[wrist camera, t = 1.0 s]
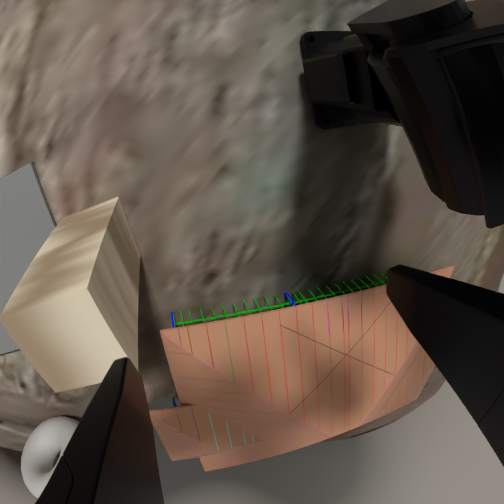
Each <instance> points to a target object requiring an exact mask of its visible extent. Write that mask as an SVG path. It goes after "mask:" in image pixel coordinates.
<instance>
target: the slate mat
mask: <svg viewBox="0 0 504 504" xmlns="http://www.w3.org/2000/svg"><path fill="white" fill-rule="evenodd" d="M56 226H57V224H56V222H55V220H54V217H53V215H52V212H51V210H50V207H49V205H48V202H47V200H46V197H45V194H44V192H43V189H42V186H41V184H40V181H39V178H38V175H37V172H36V169H35V166H34V163H33V162H32V163H30V164H28V165H26V166H24V167H22V168H20V169H18V170H16V171H14V172H13V173H11V174H9V175H7V176H5V177H3V178H2V179H0V316H1V314H2V312H3V310H4V308H5V306H6V304H7V303H8V301H9V299H10V297H11V295H12V294H13V292H14V290H15V288H16V287H17V285H18V283H19V282H20V280H21V278H22V277H23V275H24V273H25V272H26V270H27V269H28V267H29V265H30V264H31V262H32V261H33V259H34V258H35V256H36V255H37V253H38V252H39V250H40V249H41V247H42V246H43V244H44V243H45V241H46V240H47V238H48V237H49V235H50V234H51V233H52V231H53V230H54V228H55V227H56ZM18 349H19V347H18V346H17V345H16V343H15V342H14V341H13V339H12V338H11V336H10V335H9V334H8V332H7V331H6V329H5V328H4V326H3V325H2V323H1V322H0V354H3V353H7V352H11V351H14V350H18Z"/></svg>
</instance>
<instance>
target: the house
mask: <svg viewBox="0 0 504 504" xmlns="http://www.w3.org/2000/svg"><path fill="white" fill-rule="evenodd" d="M453 268H454V266H450V267H446V268H443V269H439V270H436V271H432V272H429V273H433V274H436V275H440V276H444V277H447V278H451V275H452V272H453ZM387 272H388V271H387ZM380 274H381V275H382V276H384V277H385V278H386V279H387V277H386V276H385V275H383V274H382V273H381V272H380ZM373 276H375V277H376V278H377V279H378V280H379V281H380V282H379V283H374V282H373V281H372V280H371V279H370V278H369V277H368V276H366V277H367V278H368V279H369V280H370V281H371V282H372V283H373V284H370V285H367V284H366V283H364V282H363V281H362V280H361V279H360V278H359V277H358V279H359V280H360V281H361V282H362V283H363V284H364V285H366V286H363V287H359V286H358V285H357V284H356V283H355V282H354V281H353V280H352V279H350V280H351V281H352V282H353V283H354V284H355V285H356V286H357V288H353V289H351V288H350V287H349V286H348V285H347V284H346V283H345V282H344V281H342V282H343V283H344V284H345V285H346V286H347V287H348V288H349V290H346V291H342V290H341V289H340V288H339V287H338V286H337V285H336V283H335V282H334V284H335V286H336V287H337V288H338V289H339V290H340V292H336V293H333V292H332V291H331V289H330V288H329V287H328V286H327V285H326V284H325V286H326V287H327V288H328V289H329V290H330V292H331V293H332V294H329V295H324V294H323V293H322V291H321V290H320V289H319V288H318V287H317V286H316V288H317V289H318V290H319V291H320V292H321V294H322V296H318V297H315V296H314V295H313V294H312V293H311V291H310V290H309V289H308V288H307V290H308V291H309V292H310V294H311V295H312V296H313V297H314V298H311V299H305V298H304V297H303V295H302V294H301V293H300V291H299V290H298V292H299V294H300V295H301V296H302V298H303V299H304V300H299V299H298V298H297V296H296V295H295V293H294V292H293V291H292V293H293V294H294V296H295V297H296V299H297V300H298V301H296V302H293V300H292V299H291V297H290V296H289V294H288V293H287V292H286V293H284V294H285V296H286V297H287V299H288V300H289V302H290V303H288V302H287V301H286V300H285V302H286V303H285V304H281V303H280V302H279V300H278V298H277V297H276V295H274V296H275V298H276V299H277V301H278V303H279V304H280V305H277V306H272V307H271V306H270V305H269V303H268V301H267V299H266V298H265V296H264V298H265V300H266V302H267V304H268V305H269V307H265V308H259V306H258V304H257V302H256V300H255V298H254V301H255V303H256V305H257V307H258V309H257V310H251V311H249V310H248V308H247V306H246V304H245V302H244V300H243V302H244V304H245V306H246V309H247V311H244V312H238V313H237V310H236V308H235V305H234V303H233V306H234V308H235V311H236V313H235V314H229V315H226V313H225V310H224V307H223V304H222V307H223V310H224V313H225V315H221V316H216V317H215V316H214V313H213V316H214V317H212V318H206V319H203V316H202V319H198V320H191V321H188V322H179V323H175V320H174V313H173V312H171V316H172V324H173V328H170V329H163V330H160V334H161V338H162V341H163V345H164V349H165V353H166V356H167V360H168V363H169V367H170V371H171V374H172V377H173V381H174V384H175V387H176V391H177V394H178V397H179V400H180V403H181V406H180V407H177V405H176V402H175V399H174V398H173V404H174V407H173V408H165V409H158V410H149V413H150V417H151V421H152V423H153V425H154V428H155V429H156V431H157V433H158V435H159V437H160V439H161V441H162V443H163V445H164V447H165V449H166V450H167V452H168V454H169V456H170V458H171V459H172V461H176V460H183V459H190V458H197V457H199V458H200V460H201V463H202V465H203V468H204V471H205V472H206V471H211V470H217V469H222V468H227V467H232V466H236V465H241V464H245V463H250V462H254V461H257V460H262V459H265V458H269V457H273V456H276V455H280V454H283V453H287V452H290V451H293V450H297V449H300V448H303V447H306V446H309V445H312V444H315V443H318V442H321V441H323V440H326V439H329V438H332V437H334V436H337V435H339V434H342V433H345V432H347V431H350V430H352V429H354V428H357V427H359V426H362V425H364V424H366V423H368V422H371V421H373V420H375V419H377V418H380V417H382V416H384V415H386V414H388V413H390V412H392V411H394V410H396V409H398V408H400V407H402V406H404V405H406V404H408V403H410V402H412V401H414V400H416V399H417V398H418V396H419V394H420V392H421V391H422V389H423V387H424V385H425V383H426V382H427V380H428V378H429V376H430V374H431V372H432V370H433V368H434V366H435V364H434V362H433V361H432V360H431V358H430V357H429V356H428V354H427V353H426V352H425V351H424V349H423V348H422V347H421V345H420V344H419V343H418V341H417V340H416V339H415V337H414V336H413V335H412V333H411V332H410V331H409V329H408V328H407V326H406V324H405V323H404V321H403V320H402V318H401V316H400V315H399V313H398V312H397V310H396V309H395V307H394V305H393V304H392V302H391V301H390V299H389V298H388V296H387V293H386V284H385V283H384V282H387V280H386V281H381V280H380V279H379V278H378V277H377V276H376V275H374V274H373ZM380 283H382V284H384V285H381V286H377V285H376V284H380ZM371 285H375V286H376V287H373V288H370V287H369V286H371ZM364 287H368V288H369V289H365V290H362V289H361V288H364ZM354 289H360V290H361V291H357V292H353V290H354ZM348 291H351V292H352V293H349V294H345V293H344V292H348ZM337 293H343V294H344V295H340V296H336V295H335V294H337ZM330 295H334V296H335V297H332V298H327V297H326V296H330ZM320 297H325V299H323V300H319V301H318V300H317V299H316V298H320ZM312 299H315V300H316V301H314V302H310V303H308V302H307V301H308V300H312ZM301 301H305V302H306V303H305V304H302V303H301ZM298 302H299V303H300V305H296V304H295V303H298ZM289 304H291V307H290V305H289ZM282 305H287V306H288V307H286V308H283V306H282ZM279 306H281V307H282V308H281V309H276V310H272V308H274V307H279ZM267 308H270V309H271V311H267V312H261V310H262V309H267ZM211 309H212V306H211ZM200 311H201V308H200ZM254 311H260V313H256V314H250V312H254ZM212 312H213V309H212ZM246 312H248V313H249V315H246V316H241V317H239V315H238V314H241V313H246ZM189 313H190V310H189ZM181 315H182V311H181ZM201 315H202V312H201ZM232 315H238V317H235V318H230V319H228V318H227V316H232ZM224 316H226V319H224V320H218V321H216V319H215V318H219V317H224ZM190 318H191V315H190ZM209 319H215V321H213V322H207V323H204V320H209ZM201 320H203V323H201V324H195V325H193V324H192V325H189V326H184V324H185V323H192V322H195V321H201ZM182 321H183V317H182ZM182 323H183V326H182V327H175V325H176V324H182Z"/></svg>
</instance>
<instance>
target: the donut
mask: <svg viewBox="0 0 504 504" xmlns="http://www.w3.org/2000/svg"><path fill="white" fill-rule="evenodd" d="M78 423H79V421H77V420H75V419H73V418H69V417H66V416H58V417H52V418H49V419H47V420H45V421H44V422H42V423H41V424H40V425H39V426H37V427H36V428H35V429H34V431H33V432H32V433H31V435H30V436H29V438H28V440H27V442H26V444H25V446H24V449H23V453H22V458H21V471H22V475H23V479H24V482H25V484H26V486H27V487H28V489H29V490H30V492H31V493H32V494H33V495H34V496H36V497H37V498H39V496H40V495H41V493H42V491H43V490H44V488H45V486H46V484H47V483H48V481H49V479H50V477H51V475H52V473H53V472H54V470H55V468H56V466H57V464H58V462H59V460H60V458H61V456H63V452H64V450H65V448H66V446H67V444H68V442H69V440H70V439H71V437H72V435H73V433H74V431H75V429H76V427H77V425H78ZM60 451H61V452H60ZM58 452H60V457H59V459H58V462H57V464H56V465H55V467H54V468H53V469H52V465H53V461H54V459H55V457H56V455H57V454H58Z"/></svg>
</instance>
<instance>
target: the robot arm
mask: <svg viewBox="0 0 504 504" xmlns="http://www.w3.org/2000/svg"><path fill="white" fill-rule="evenodd" d="M347 25H348V26H349V27H350V29H351V30H352V31H313V32H306V33H304V34H303V35H302V36H301V43H302V48H303V53H304V58H305V61H304V63H303V66H304V71H305V76H306V82H307V87H308V93H309V99H310V100H311V101H312V102H313V107H314V114H315V120H316V124H317V126H318V127H319V128H321V129H326V130H327V129H333V128H338V127H344V126H351V125H357V124H364V123H370V122H381V123H386V124H391V125H396V126H401V127H403V129H404V131H405V133H406V135H407V137H408V140H409V142H410V144H411V146H412V149H413V151H414V153H415V156H416V158H417V160H418V163H419V165H420V168H421V170H422V173H423V175H424V178H425V180H426V182H427V184H428V186H429V188H430V190H431V192H432V193H434V194H435V195H436V196H437V197H439V198H440V199H441V200H442V201H443V202H445V203H446V205H447V207H448V208H449V209H450V210H453V211H456V212H459V213H462V214H470V215H485V222H486V226H487V227H488V228H494V227H497V226H500V225H502V224H504V0H475V1H469V2H465V0H389V1H387V2H385V3H383V4H381V5H379V6H377V7H375V8H373V9H372V10H370V11H368V12H366V13H364V14H363V15H361V16H359V17H357V18H355V19H354V20H352V21H350V22H349V23H347ZM308 36H309V37H310V38H311V39H312V42H309V41H308V40H307V37H308ZM324 118H325V119H326V124H325V125H323V123H322V120H323V119H324ZM386 293H387V296H388V298H389V299H390V301H391V302H392V304H393V305H394V307H395V309H396V310H397V312H398V313H399V315H400V316H401V318H402V320H403V321H404V323H405V324H406V326H407V328H408V329H409V331H410V332H411V333H412V335H413V336H414V337H415V339H416V340H417V341H418V343H419V344H420V345H421V347H422V348H423V349H424V351H425V352H426V353H427V354H428V356H429V357H430V358H431V360H432V361H433V362H434V364H435V365H436V366H437V368H438V369H439V371H440V372H441V373H442V375H443V376H444V377H445V379H446V380H447V382H448V383H449V384H450V386H451V387H452V388H453V390H454V391H455V392H456V394H457V395H458V397H459V398H460V400H461V401H462V403H463V404H464V405H465V407H466V408H467V410H468V412H469V413H470V414H471V416H472V417H473V419H474V420H475V422H476V423H477V424H478V427H479V428H480V430H481V431H482V433H483V434H484V436H485V437H486V439H487V441H488V442H489V444H490V445H491V447H492V448H493V450H494V452H495V453H496V455H497V456H498V458H499V460H500V461H501V463H502V465H503V466H504V294H502V293H499V292H497V293H496V292H495V291H492V290H489V289H485V288H482V287H479V286H475V285H472V284H468V283H465V282H461V281H458V280H454V279H451V278H447V277H444V276H440V275H436V274H433V273H429V272H426V271H422V270H418V269H415V268H411V267H407V266H404V265H396V266H394V267H391V268H390V269H389V270H388V272H387V283H386ZM35 504H164V499H163V494H162V488H161V482H160V476H159V470H158V463H157V456H156V449H155V441H154V434H153V427H152V422H151V417H150V413H149V409H148V404H147V399H146V394H145V389H144V384H143V380H142V377H141V375H140V374H139V372H138V371H137V369H136V368H135V366H134V364H133V363H132V361H131V360H130V359H129V358H128V357H123V358H119V359H116V360H114V361H113V363H112V365H111V366H110V368H109V370H108V372H107V373H106V375H105V377H104V378H103V380H102V382H101V384H100V385H99V387H98V389H97V391H96V393H95V394H94V396H93V398H92V400H91V401H90V403H89V405H88V407H87V409H86V411H85V412H84V414H83V416H82V418H81V420H80V422H79V423H78V425H77V427H76V429H75V431H74V433H73V435H72V437H71V439H70V440H69V442H68V444H67V446H66V448H65V450H64V452H63V456H61V458H60V460H59V462H58V464H57V466H56V468H55V470H54V472H53V473H52V475H51V477H50V479H49V481H48V483H47V484H46V486H45V488H44V490H43V491H42V493H41V495H40V496H39V498H38V500H37V501H36V503H35Z"/></svg>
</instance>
